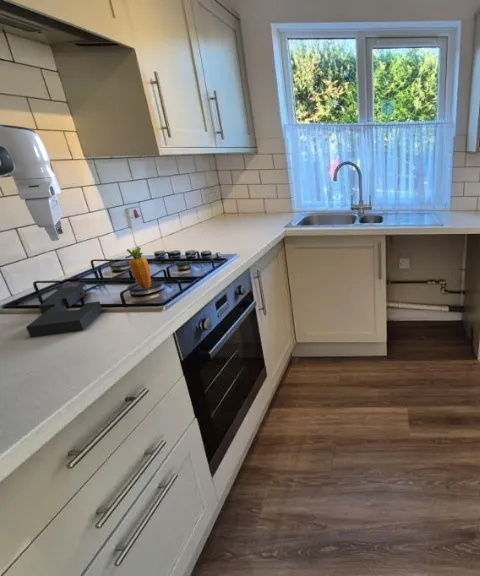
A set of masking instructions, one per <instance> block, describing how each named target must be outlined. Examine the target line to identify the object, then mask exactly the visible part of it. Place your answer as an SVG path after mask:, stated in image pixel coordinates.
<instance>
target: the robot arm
mask: <svg viewBox="0 0 480 576" xmlns="http://www.w3.org/2000/svg"><path fill="white" fill-rule="evenodd" d="M10 177H11V178H12V179H13V182H14V184H15V187H16V190H17V194H18V196H19V199H20V200H24V203H25V205H26V208H27V210H28V212H29V214H30V216H31V218H32V219H33V222H34V224H35V225H36V227H38V228H44V230H45V232H46V233H47V235H48V237H49V239H50V241H52V242H56V241H59V240H60V235H62V234H64V229H63V225H62V220H61V219H62V217H63V216H64V213H63V210H62V207H61V204H60V202H59V196H58V195H59V194H62V193H63V192H62V189H61V187H60V184H59V181H58V179H57V176H56V174H55V172H54V171H53V169H52V167H51V159H50V156H49V153H48V151H47V149H46V147H45V144H44V143H43V140H42V138H41V137H40V135H39V134H38V132H36V131H35V130H33V129H32V128H29V127H25V126H18V125H11V124H10V125H9V124H0V178H10Z"/></svg>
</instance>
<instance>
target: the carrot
mask: <svg viewBox="0 0 480 576" xmlns="http://www.w3.org/2000/svg"><path fill="white" fill-rule="evenodd" d="M141 249H142V247H140V246H137V247H136V248H134V249H132V251H131V250H130V249H129V248H127V249H126V251H127V252H128V254H130V256H131V257H133V258H132V259H130V260H129V261H128V265H129V268H130V271H131V273H132V275H133V277H134V279H135V281H136V282H137V284H138V285H139V286H140V288H141V289H143V288H149V287H150V288H151V283H152V277H151V269H150V265H149V262H148V260H147V258H145V257H143V256H142V255H143V252H141ZM150 288H149V289H146V290H144V291H145V292H149V291H150Z"/></svg>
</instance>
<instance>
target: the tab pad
mask: <svg viewBox="0 0 480 576" xmlns="http://www.w3.org/2000/svg"><path fill="white" fill-rule="evenodd" d="M80 293H82V294H81V295H80ZM85 295H86V293H85V290H84V287H83V285H80V286H79V285H77V286H69V287H60V288H58V289H57V290H55V291H54V292H53V293H52V294H50V295H49V296H47V297H46V298H44V299H42V303H41V304H39V305H38V309H39V310H40V313H41V315H42V314H43V313H45V312H46V311H47V310H49V309H50V308H51V307H57V306H66V309H67V308H71V307H72V306H73V305H74V304H76V303H77V302H79V300H81V298H83V297H84V296H85Z"/></svg>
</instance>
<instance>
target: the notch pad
mask: <svg viewBox="0 0 480 576" xmlns="http://www.w3.org/2000/svg"><path fill="white" fill-rule="evenodd" d="M103 311H104V310H103V308H102V305H101V302H100V301H92V302H86V303H84V305H82V306H81V307H80V308H79V309H74V310H73V309H72V310H68V309H67V308H66V306H57V307H51V308H50V309H49V310H47V311H46V312H45V313H43V314H42V313H41V315H39V316H38V317H37V318H36V319H34V320H33V321H32V322H31V323H29V324H28V325H26V327H25V329H26V330H27V332H28V334H29V336H30V338H34V337H42V336H48V335H57V334H65V333H72V332H80V331H85V329H86V328H87V327H88V326H90V324H92V322H93V321H94V320H95V319H96V318H97V317H98V316H99V315H100V314H101V313H102V312H103Z"/></svg>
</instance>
